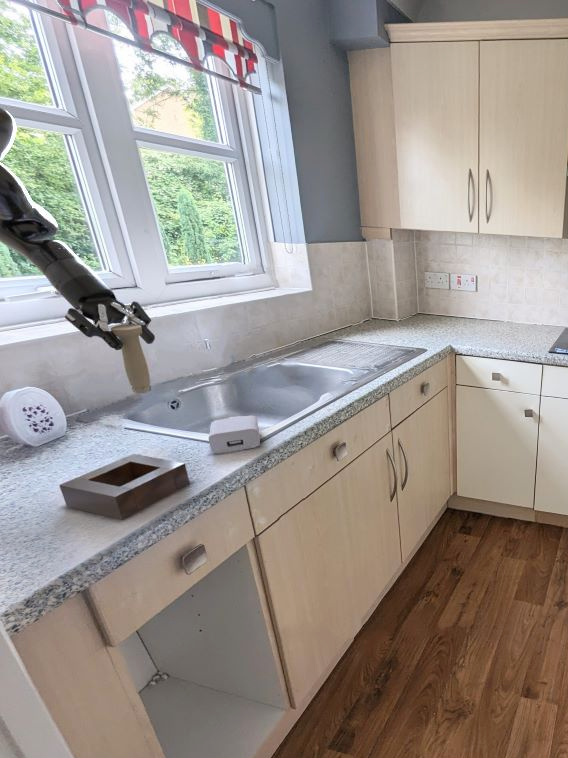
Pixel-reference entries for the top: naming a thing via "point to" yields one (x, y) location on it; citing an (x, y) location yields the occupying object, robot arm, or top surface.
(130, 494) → the socket
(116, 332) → the handle
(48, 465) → the top surface
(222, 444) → the charger
